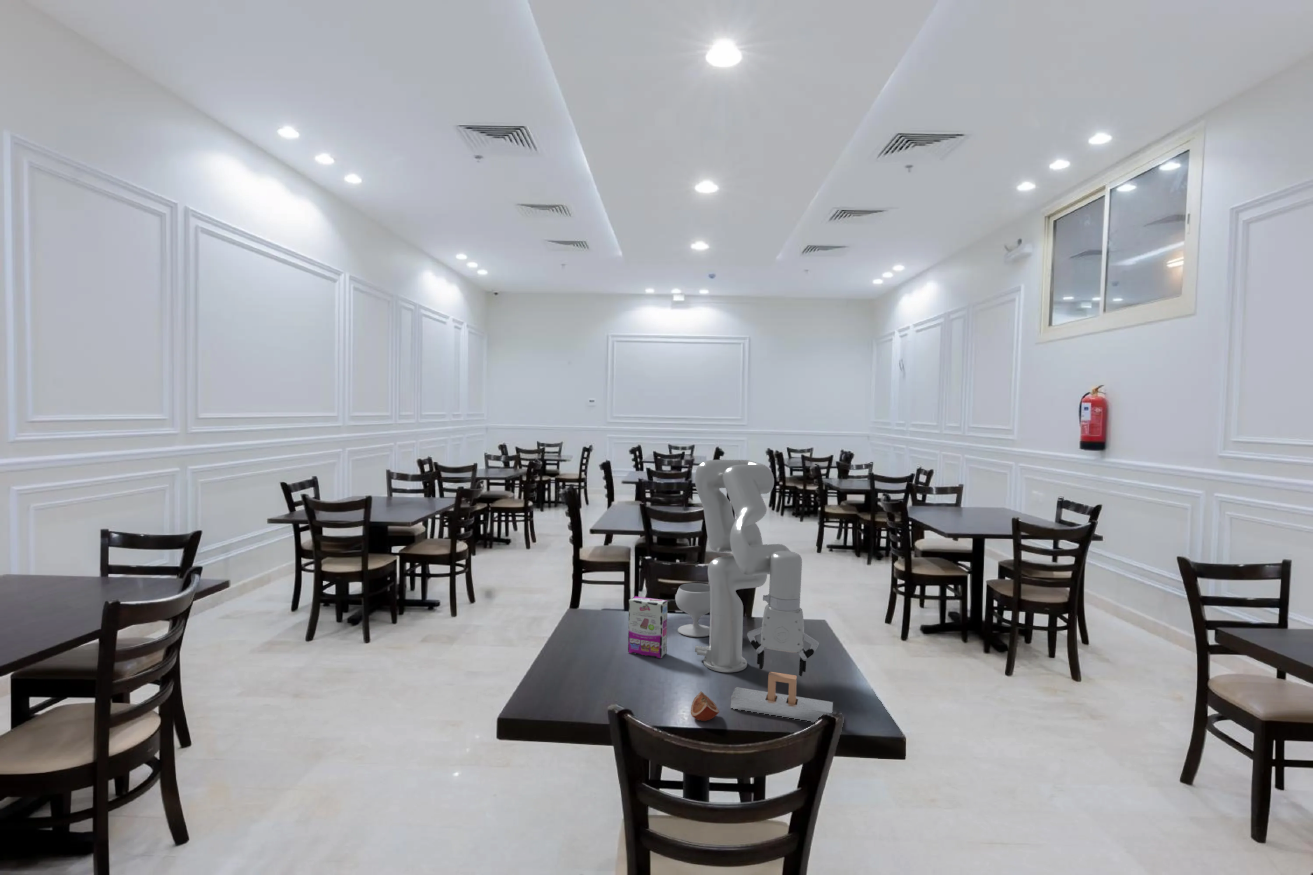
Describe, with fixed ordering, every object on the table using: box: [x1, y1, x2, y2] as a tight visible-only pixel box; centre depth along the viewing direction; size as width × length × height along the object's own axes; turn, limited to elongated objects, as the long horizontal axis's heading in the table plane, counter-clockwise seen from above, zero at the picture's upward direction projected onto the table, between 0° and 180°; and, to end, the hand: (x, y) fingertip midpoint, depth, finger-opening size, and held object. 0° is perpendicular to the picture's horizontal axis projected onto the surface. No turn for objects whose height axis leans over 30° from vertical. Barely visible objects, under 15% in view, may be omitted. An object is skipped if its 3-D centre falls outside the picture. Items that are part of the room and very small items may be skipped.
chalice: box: [675, 582, 710, 638], centre depth 209 cm, size 14×14×15 cm
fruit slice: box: [690, 691, 720, 722], centre depth 149 cm, size 8×7×5 cm
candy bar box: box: [627, 595, 669, 659], centre depth 189 cm, size 11×5×16 cm, turn 68°
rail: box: [730, 686, 834, 724], centre depth 153 cm, size 24×6×3 cm, turn 72°
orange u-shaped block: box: [767, 671, 798, 705], centre depth 153 cm, size 7×2×9 cm, turn 72°
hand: (781, 670), depth 154 cm, fingers open, 9 cm apart
